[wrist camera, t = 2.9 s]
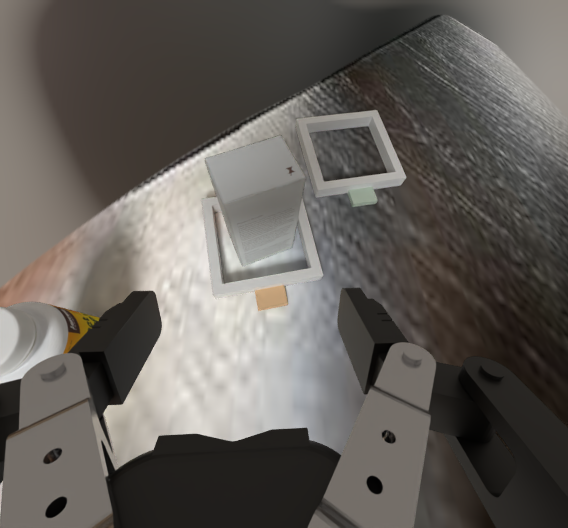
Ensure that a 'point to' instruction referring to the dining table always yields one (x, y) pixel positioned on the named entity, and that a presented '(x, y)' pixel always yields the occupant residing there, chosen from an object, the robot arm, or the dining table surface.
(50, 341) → the supplement bottle
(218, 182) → the skincare box
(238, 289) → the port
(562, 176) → the dining table surface
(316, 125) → the frame
